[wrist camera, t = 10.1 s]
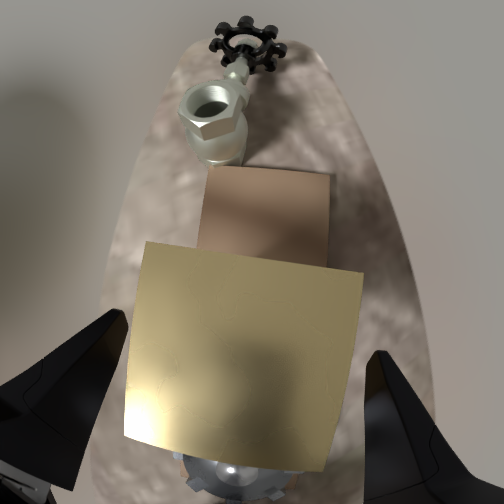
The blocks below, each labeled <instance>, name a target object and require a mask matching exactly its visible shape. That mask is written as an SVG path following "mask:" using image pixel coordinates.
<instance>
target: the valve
mask: <svg viewBox="0 0 504 504" xmlns="http://www.w3.org/2000/svg"><path fill="white" fill-rule="evenodd" d="M253 23H254V20H253V18H251V17H249V16H243V17H241V18H240V20H239V22H238V24H237V26H239V27H235V28H232V27H231V26H230V25H229V24H228V23H226V22H221V23H219V24H218V26H217V27H216V29H215V34H216V35H217V36H218V35H219V34H222V35H223V36H224V38H223V39H220V38H215V39H213V40H212V42H211V43H210V45H209V49H210V51H212V52H215V53H216V52H217V50H219V49H222V50H223V52H224V53H225V55H224V56H223V58H222V60H221V65H222V66H224V67H227V68H226V70H225V72H224V75H223V76H224V79H222V80H213V81H208V82H204V83H201V84H198V85H195V86H193V87H191V88H189V89H188V90H187V91H186V93H185V95H184V96H183V98H182V101H181V103H180V106H179V109H178V114H179V117H180V119H181V121H182V123H183V126H184V127H186V128H185V133H186V139H187V142H188V144H189V146H190V148H191V149H192V150H193V151H194V152H195V153H196V154H197V157H198V159H199V161H200V162H202V163H203V164H204V165H205V166H207V167H208V168H209V165H211V166H212V167H213V168H218V167H221V166H235V167H241V165H242V162H243V158H244V154H245V150H246V146H247V144H246V139H247V136H248V125H247V121H246V118H245V116H244V114H243V113H242V111H244V110H245V109H246V107H247V104H248V101H249V98H250V93H249V91H248V89H247V88H246V87H245V86H244V85H246V83H247V80H248V77H249V75H252V74H254V72H255V69H256V66H257V65H261V64H264V65H265V70H266V71H268V72H273V71H275V69H276V66H277V60H276V59H275V58H272V55H273V54H278V55H279V57H278V58H283V57H285V56H286V52H287V46H286V45H285V44H283V43H277V44H276V43H274V42H273V41H272V39H271V38H273V39H276V37H277V34H278V28H277V27H275V26H273V25H268V26H266V27H265V28H264V29H262V30H261V29H258V28H255V27H254V26H253ZM239 34H248V35H253V36H255V37H257V38H259V39H260V40H262V41H263V42H262V44H261V46H260V47H258V48H257V43H256V42H255V41H253V40H251V39H248V38H247V39H243V40H241V41H239V42H238V44H237V45H236V46H235V48H233V47H231V46H230V44H229V40H230V39H231V38H232V37H234V36H236V35H239ZM266 51H267V52H266ZM264 52H266V53H265V54H264V55H263V56H261V57H257V56H259V55H261V54H263V53H264ZM256 57H257V58H256Z"/></svg>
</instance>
